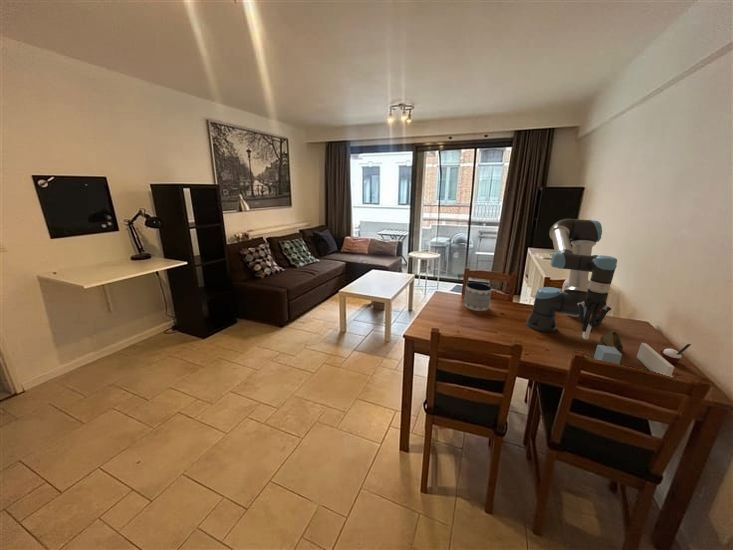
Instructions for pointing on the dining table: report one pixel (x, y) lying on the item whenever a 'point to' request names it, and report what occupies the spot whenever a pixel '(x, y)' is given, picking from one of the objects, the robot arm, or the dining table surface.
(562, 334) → the dining table surface
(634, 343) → the dining table surface
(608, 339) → the rock
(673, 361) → the cocoa
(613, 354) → the block
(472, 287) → the planter
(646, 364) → the board
